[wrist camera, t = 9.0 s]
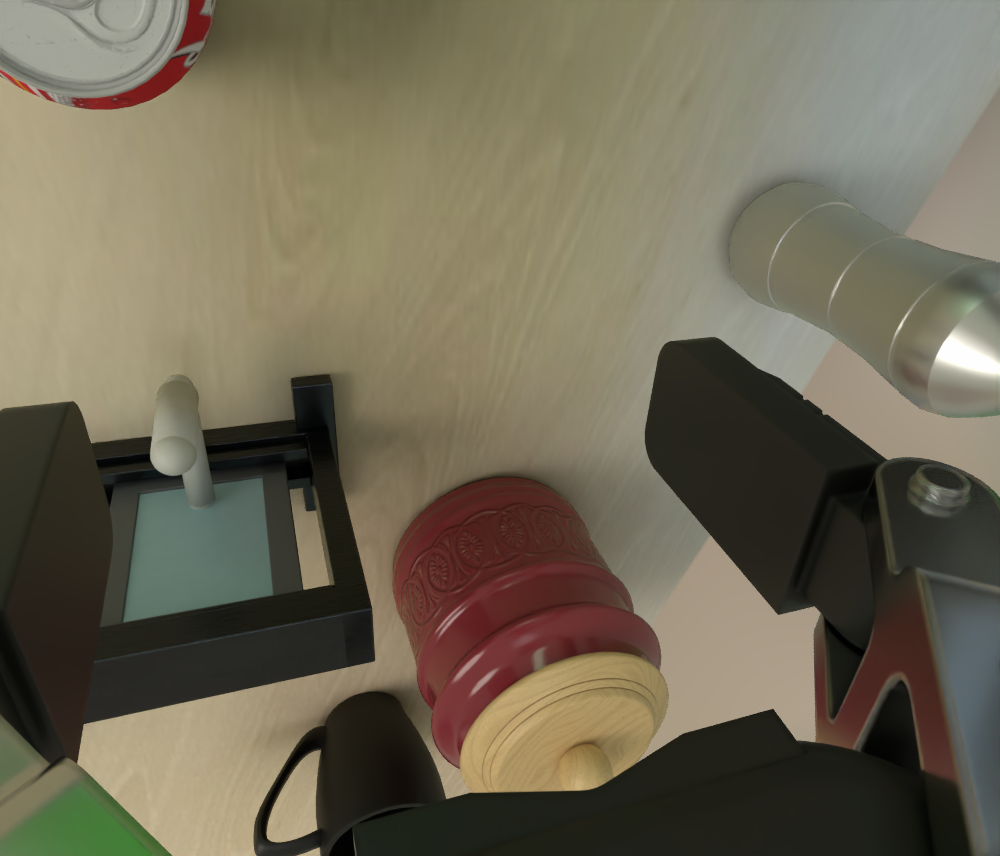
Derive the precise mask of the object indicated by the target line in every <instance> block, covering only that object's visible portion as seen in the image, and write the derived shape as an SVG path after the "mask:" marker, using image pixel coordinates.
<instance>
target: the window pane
mask: <svg viewBox="0 0 1000 856" xmlns="http://www.w3.org/2000/svg"><path fill="white" fill-rule="evenodd" d="M198 398H199V397H198V392H197V390H196V388H195V387H194V386H193V383H192V382H191V380H190V379H189V378H188V377H186V376H184V375H173V376H171V377H169V378H168V379H167V380H166V381H165V383H164V384H163V385H162V386H161V387H160V388H159V391H158V394H157V401H156V409H155V418H154V426H153V434H152V442H151V450H150V458H151V462H152V464H153V466H154V467H155V468H156V469H157V470H158V471H159V472H161V473H163V474H165V475H169V476H168V477H160V478H153V479H145V480H138V481H130V482H123V483H115V484H114V488H113V494H112V499H111V505H110V514H111V521H112V530H113V550H112V557H111V563H110V569H109V575H108V581H107V587H106V593H105V599H104V605H103V611H102V617H101V623H100V627H104V626H110V625H115V624H121V623H126V622H132V621H137V620H143V619H148V618H154V617H159V616H165V615H170V614H175V613H181V612H186V611H192V610H197V609H203V608H208V607H214V606H219V605H225V604H230V603H236V602H241V601H246V600H252V599H257V598H263V597H268V596H274V595H279V594H285V593H290V592H296V591H301V590H303V584H302V577H301V570H300V563H299V556H298V549H297V542H296V535H295V528H294V521H293V514H292V506H291V499H290V492H289V485H288V478H287V471H286V464H285V461H281V462H273V463H266V464H258V465H251V466H243V467H236V468H228V469H220V470H213V471H210V469H209V463H208V458H207V453H206V448H205V443H204V438H203V432H202V427H201V422H200V417H199V412H198ZM181 474H182V475H181Z"/></svg>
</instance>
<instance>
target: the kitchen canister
mask: <svg viewBox="0 0 1000 856" xmlns="http://www.w3.org/2000/svg"><path fill="white" fill-rule="evenodd" d="M393 593H394V598H395V602H396V606H397V610H398V613H399V615H400V618H401V620H402V621H403V623H404V625H405V627H406V630H407V634H408V637H409V641H410V644H411V648H412V651H413V655H414V659H415V662H416V666H417V681H418V686H419V690H420V692H421V694H422V697H423V698H424V700H425V702H426V703H427V704H428V706H429V707H430V708H431V709H432V710H433V713H432V720H431V728H432V735H433V739H434V742H435V745H436V747H437V749H438V750H439V752H440V753H441V754H442V756H443V757H444V758H445V759H446V760H447V761H448V762H449V763H451V764H452V765H453V766H455V767H457V768H458V769H460V770H461V774H462V777H463V780H464V782H465V784H466V785H467V787H468V788H469V789H470V790H471V791H472V792H473V793H488V792H534V791H580V790H590V789H593V788H597V787H599V786H601V785H603V784H605V783H606V782H608V781H609V780H611V779H612V778H614V777H616V776H617V775H619V774H620V773H622V772H623V771H625V770H627V769H628V768H630V767H631V766H633V765H635V764H636V763H637V762H638V761H639V759H640V758H641V757H642V755H643V754H644V753H645V751H646V749H647V748H648V746H649V743H650V742H651V740H652V738H653V737H654V736H655V734H656V733H657V731H658V729H659V728H660V726H661V724H662V722H663V719H664V717H665V714H666V711H667V707H668V698H669V697H668V696H669V695H668V688H667V684H666V681H665V679H664V677H663V676H662V674H661V673H660V666H661V649H660V645H659V641H658V638H657V636H656V634H655V632H654V631H653V630H652V628H651V627H650V626H649V624H648V623H647V622H646V621H645V620H643V619H642V618H641V617H639V616H638V615H636V614H634V610H633V604H632V600H631V597H630V594H629V592H628V590H627V588H626V587H625V586H624V584H623V583H622V582H621V581H620V580H619V578H617V577H616V576H615V575H614V574H613V573H612V572H611V570H610V569H609V567H608V565H607V564H606V562H605V561H604V559H603V558H602V556H601V554H600V553H599V551H598V550H597V548H596V547H595V545H594V544H593V542H592V540H591V539H590V536H589V533H588V530H587V528H586V526H585V524H584V522H583V521H582V520H581V518H580V517H579V515H578V514H577V512H576V511H575V510H574V508H573V507H572V506H571V505H570V504H569V503H568V502H567V501H565V500H564V499H563V498H561V497H560V496H559V495H558V494H557V493H556V492H555V491H553V490H552V489H550V488H549V487H547V486H545V485H543V484H541V483H538V482H535V481H532V480H527V479H522V478H511V477H506V478H493V479H487V480H482V481H478V482H474V483H471V484H468V485H465V486H463V487H460V488H458V489H456V490H454V491H452V492H450V493H448V494H446V495H445V496H443V497H441V498H440V499H438V500H437V501H435V502H434V503H433V504H431V505H430V506H429V507H428V508H426V509H425V510H424V511H423V512H422V513H421V514H420V515H419V516H418V517H417V518H416V519H415V520H414V521H413V523H412V524H411V525H410V526H409V528H408V529H407V531H406V532H405V534H404V535H403V537H402V539H401V541H400V543H399V545H398V548H397V551H396V554H395V558H394V564H393Z"/></svg>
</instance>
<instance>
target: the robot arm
mask: <svg viewBox="0 0 1000 856" xmlns="http://www.w3.org/2000/svg"><path fill="white" fill-rule="evenodd" d="M645 445H646V450H647V454H648V457H649V460H650V462H651V464H652V466H653V467H654V469H655V470H656V471H657V472H658V474H659V475H660V476H661V477H662V478H663V480H664V481H665V482H666V483H667V484H668V485H669V487H670V488H671V489H672V490H673V491H674V492H675V494H676V495H677V496H678V497H679V498H680V500H681V501H682V502H683V503H684V504H685V505H686V507H687V508H688V509H689V510H690V511H691V513H692V514H693V515H694V516H695V517H696V518H697V520H698V521H699V522H700V523H701V524H702V526H703V527H704V528H705V529H706V530H707V531H708V533H709V534H710V535H711V536H712V537H713V538H714V540H715V541H716V542H717V543H718V544H719V546H720V547H721V548H722V549H723V550H724V551H725V553H726V554H727V555H728V556H729V557H730V558H731V560H732V561H733V562H734V563H735V564H736V566H737V567H738V568H739V569H740V570H741V572H742V573H743V574H744V575H745V576H746V577H747V579H748V580H749V581H750V582H751V583H752V584H753V586H754V587H755V588H756V589H757V590H758V592H759V593H760V594H761V595H762V596H763V597H764V599H765V600H766V601H767V602H768V603H769V604H770V606H771V607H772V608H773V609H774V610H775V612H776V613H777V614H778V615H780V614H783V613H788V612H792V611H797V610H801V609H805V608H809V607H813V606H815V607H816V608H817V609H818V610H819V611H820V612H821V614H820V616H819V619H818V622H817V624H816V627H815V629H814V674H815V722H816V742H808V741H796V739H795V738H794V737H793V735H792V734H791V732H790V731H789V730H788V729H787V727H786V726H785V724H784V723H783V722H782V720H781V719H780V718H779V716H778V715H777V714H776V712H775V711H774V709H771V710H768V711H764V712H760V713H757V714H753V715H750V716H745V717H742V718H738V719H735V720H731V721H727V722H724V723H721V724H717V725H713V726H710V727H706V728H702V729H699V730H695V731H691V732H688V733H684V734H682V735H680V736H679V737H677V738H676V739H674V740H672V741H671V742H669V743H668V744H666V745H665V746H663V747H661V748H660V749H658V750H657V751H655V752H653V753H652V754H650V755H649V756H647V757H646V758H644V759H642V760H641V761H639V762H638V763H636V764H635V765H633V766H631V767H630V768H628V769H627V770H625V771H623V772H622V773H620V774H619V775H617V776H616V777H614V778H612V779H611V780H609V781H608V782H606V783H605V784H603V785H601V786H599V787H597V788H593V789H590V790H580V791H534V792H488V793H468V794H464V795H461V796H457V797H453V798H450V799H446V800H442V801H439V802H435V803H432V804H428V805H424V806H421V807H417V808H414V809H410V810H406V811H403V812H399V813H396V814H392V815H388V816H385V817H381V818H378V819H374V820H370V821H367V822H363V823H360V824H356V825H352V829H353V839H354V849H355V856H1000V497H999V496H998V495H997V494H996V493H995V492H994V491H993V490H992V489H991V488H990V487H989V486H988V485H986V484H985V483H984V482H982V481H981V480H979V479H978V478H976V477H974V476H973V475H971V474H969V473H967V472H965V471H963V470H960V469H958V468H956V467H953V466H950V465H947V464H944V463H941V462H937V461H933V460H929V459H923V458H913V457H903V458H902V457H901V458H894V459H891V460H887V459H885V458H884V457H883V456H881V455H880V454H879V453H877V452H876V451H875V450H873V449H872V448H871V447H870V446H868V445H867V444H866V443H864V442H863V441H862V440H860V439H859V438H857V437H856V436H855V435H854V434H852V433H851V432H850V431H848V430H847V429H846V428H844V427H843V426H842V425H841V424H839V423H838V422H837V421H835V420H834V419H833V418H831V417H830V416H829V415H823V414H822V410H821V409H819V408H818V407H817V406H815V405H814V404H813V403H812V402H810V401H809V400H803V396H802V395H801V394H800V393H798V392H797V391H796V390H794V389H793V388H792V387H791V386H789V385H788V384H787V383H785V382H784V381H783V380H781V379H780V378H778V377H776V376H773V375H771V374H769V373H767V372H764V371H762V370H760V369H758V368H757V367H755V366H754V365H753V364H751V363H750V362H749V361H748V360H746V359H745V358H744V357H742V356H741V355H740V354H738V353H737V352H736V351H735V350H733V349H732V348H731V347H729V346H728V345H727V344H726V343H724V342H723V341H722V340H720V339H718V338H716V337H708V338H698V339H688V340H678V341H670V342H668V343H666V344H665V345H664V346H663V347H662V349H661V351H660V354H659V357H658V361H657V367H656V372H655V378H654V383H653V389H652V394H651V400H650V405H649V411H648V416H647V422H646V428H645ZM112 550H113V530H112V521H111V514H110V509H109V504H108V501H107V497H106V494H105V490H104V487H103V484H102V480H101V477H100V473H99V470H98V466H97V463H96V460H95V456H94V453H93V449H92V446H91V442H90V439H89V436H88V432H87V429H86V425H85V422H84V419H83V416H82V413H81V411H80V409H79V407H78V406H77V404H76V403H75V402H73V401H72V402H62V403H52V404H42V405H33V406H23V407H13V408H5V409H2V410H1V411H0V856H172V855H171V854H170V853H169V852H168V851H167V850H166V849H165V848H164V847H163V846H162V845H161V844H160V843H159V842H158V841H157V840H156V839H155V838H154V837H153V836H151V835H150V834H149V833H148V832H147V831H146V830H145V829H144V828H143V827H142V826H141V825H140V824H139V823H138V822H137V821H136V820H135V819H134V818H133V817H132V816H131V815H130V814H129V813H128V812H127V811H126V810H125V809H124V808H123V807H122V806H121V805H120V804H119V803H118V802H117V801H116V800H115V799H114V798H113V797H112V796H111V795H110V794H109V793H108V792H107V791H106V790H104V789H103V788H102V787H101V786H100V785H99V784H98V783H97V782H96V781H95V780H94V779H93V778H92V777H91V776H90V775H89V774H88V773H87V772H86V771H85V770H84V769H83V768H82V767H80V766H79V765H78V764H77V761H78V755H79V749H80V743H81V737H82V731H83V725H84V719H85V713H86V707H87V701H88V695H89V689H90V683H91V677H92V671H93V665H94V659H95V653H96V647H97V641H98V635H99V629H100V623H101V617H102V611H103V605H104V599H105V593H106V587H107V581H108V575H109V569H110V563H111V557H112Z"/></svg>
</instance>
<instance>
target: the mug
mask: <svg viewBox="0 0 1000 856" xmlns="http://www.w3.org/2000/svg"><path fill="white" fill-rule="evenodd" d="M316 750H321V753H320V759H319V767H318V776H317V791H316V820H317V829H318V830H316V831H314V832H312V833H310V834H308V835H306V836H303V837H301V838H298V839H295V840H291V841H287V842H279V843H278V842H271V841H269V840H268V839H267V835H266V833H267V825H268V821H269V817H270V814H271V811H272V808H273V806H274V804H275V802H276V800H277V798H278V796H279V794H280V792H281V790H282V788H283V786H284V785H285V783H286V781H287V780H288V778H289V776H290V775H291V773H292V772H293V770H294V769H295V767H296V766H297V765H298V763H299V762H300V761H301V760H302V759H303V758H304V757H305V756H306V755H308V754H309V753H311V752H313V751H316ZM442 800H446V796H445V793H444V789H443V786H442V782H441V779H440V775H439V773H438V770H437V768H436V765H435V763H434V760H433V758H432V756H431V754H430V752H429V750H428V748H427V746H426V744H425V743H424V741H423V739H422V737H421V736H420V734H419V732H418V731H417V729H416V728H415V726H414V725H413V723H412V721H411V720H410V718H409V717H408V716H407V714H406V713H405V711H404V709H403V707H402V706H401V704H400V702H399V701H398V700H397V699H396V698H394V697H393V696H391V695H388V694H385V693H378V692H371V693H364V694H360V695H357V696H354V697H351V698H349V699H347V700H345V701H344V702H342V703H340V704H339V705H338V706H337V707H336V708H334V709H333V710H332V712H331V713H330V714H329V716H328V718H327V721H326V724H325V726H320V727H316V728H313V729H312V730H310V731H309V732H307V733H306V734H305V735H304V736H303V737H302V738H301V740H300V741H299V742H298V744H297V745H296V747H295V748H294V750H293V751H292V753H291V755H290V756H289V758H288V760H287V761H286V763H285V765H284V766H283V768H282V770H281V771H280V773H279V775H278V776H277V778H276V780H275V782H274V783H273V785H272V787H271V788H270V790H269V792H268V794H267V796H266V797H265V799H264V801H263V803H262V805H261V807H260V809H259V812H258V814H257V817H256V820H255V825H254V850H255V854H256V855H257V856H296V855H300V854H303V853H306V852H308V851H311V850H313V849H316V848H318V847H320V855H321V856H355V849H354V839H353V829H352V825H356V824H360V823H363V822H367V821H370V820H374V819H378V818H381V817H385V816H388V815H392V814H396V813H399V812H403V811H406V810H410V809H414V808H417V807H421V806H424V805H428V804H432V803H435V802H439V801H442Z"/></svg>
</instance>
